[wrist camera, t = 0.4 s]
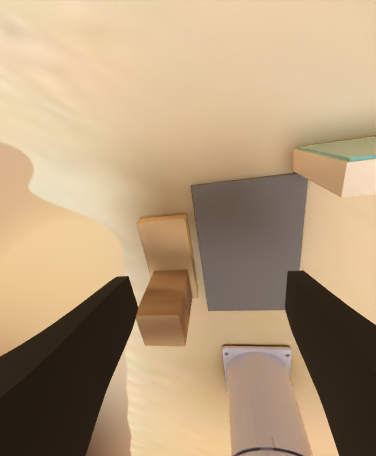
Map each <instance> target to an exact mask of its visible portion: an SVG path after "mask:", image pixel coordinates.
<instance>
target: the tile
mask: <svg viewBox="0 0 376 456" xmlns="http://www.w3.org/2000/svg"><path fill="white" fill-rule="evenodd" d="M292 171H294V172H296V173H297V174H299V175H301V176H303V177H305V178H307V179H308V180H310V181H312V182H314V183H316V184H318V185H319V186H321V187H323V188H325V189H327V190H329V191H330V192H332V193H334V194H336V195H338V196H340V197H351V196H361V195H372V194H376V136H371V137H364V138H357V139H350V140H342V141H335V142H328V143H321V144H313V145H306V146H299V147H298V148H297V149H294V153H293V169H292Z"/></svg>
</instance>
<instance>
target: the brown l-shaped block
mask: <svg viewBox="0 0 376 456" xmlns="http://www.w3.org/2000/svg"><path fill="white" fill-rule="evenodd" d="M137 226H138V230H139V234H140V238H141V241H142V245H143V249H144V253H145V256H146V260H147V264H148V268H149V272H150V275H151V279H150V282H149V284H148V286H147V289H146V291H145V293H144V296H143V298H142V300H141V303H140V305H139V307H138V311H137V315H136V320H137V323H138V326H139V329H140V332H141V335H142V338H143V341H144V344H145V345H146V346H186V338H187V331H188V324H189V317H190V309H191V302H192V298H197V297H198V287H197V280H196V274H195V267H194V261H193V254H192V248H191V241H190V235H189V228H188V221H187V215H186V214H183V215H171V216H160V217H148V218H140V219H139V221H138V222H137Z"/></svg>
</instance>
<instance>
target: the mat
mask: <svg viewBox="0 0 376 456" xmlns="http://www.w3.org/2000/svg"><path fill="white" fill-rule="evenodd" d="M307 182H308V179H307V178H305V177H303V176H301V175H299V174H297V173H292V174H284V175H275V176H267V177H258V178H250V179H241V180H233V181H224V182H216V183H207V184H199V185H191V191H192V198H193V205H194V212H195V219H196V226H197V234H198V241H199V248H200V255H201V262H202V269H203V276H204V283H205V290H206V297H207V304H208V311H243V310H285V298H286V284H287V271H299V268H300V257H301V247H302V236H303V225H304V214H305V204H306V193H307Z"/></svg>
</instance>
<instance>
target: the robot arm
mask: <svg viewBox="0 0 376 456" xmlns="http://www.w3.org/2000/svg"><path fill="white" fill-rule="evenodd" d="M285 310H286V314H287V317H288V321H289V324H290V327H291V330H292V333H293V336H294V338H295V340H296V343H297V345H298V347H299V350H300V352H301V355H302V357H303V359H304V362H305V364H306V366H307V369H308V371H309V373H310V376H311V378H312V380H313V383H314V385H315V387H316V390H317V392H318V395H319V397H320V400H321V403H322V405H323V408H324V411H325V414H326V417H327V420H328V423H329V426H330V429H331V432H332V435H333V438H334V441H335V444H336V447H337V450H338V453H339V456H376V325H375V324H373V323H372V322H370V321H369V320H368V319H366V318H365V317H363V316H362V315H360V314H359V313H358V312H356V311H355V310H353V309H352V308H351V307H349V306H348V305H347V304H345V303H344V302H343V301H341V300H340V299H339V298H337V297H336V296H335V295H334V294H332V293H331V292H330V291H328V290H327V289H326V288H325V287H323V286H322V285H321V284H320V283H318V282H317V281H316V280H315V279H313V278H312V277H311V276H310V275H308V274H307V273H306V272H304V271H287V284H286V298H285ZM137 311H138V306H137V302H136V299H135V296H134V293H133V289H132V286H131V283H130V280H129V276H123V277H116V278H114V279H113V280H111V281H110V282H108V283H107V284H106V285H104V286H103V287H102V288H101V289H100V290H98V291H97V292H95V293H94V294H93V295H91V296H90V297H89V298H88V299H86V300H85V301H84V302H82V303H81V304H80V305H78V306H77V307H76V308H74V309H73V310H72V311H70V312H69V313H67V314H66V315H65V316H63V317H62V318H61V319H59V320H58V321H56V322H55V323H54V324H52V325H51V326H49V327H48V328H46V329H45V330H43V331H42V332H40V333H39V334H37V335H36V336H34V337H32V338H31V339H29V340H28V341H26V342H25V343H23V344H21V345H20V346H18V347H16V348H15V349H13V350H11V351H9V352H8V353H6V354H4V355H2V356H0V456H86V453H87V449H88V446H89V442H90V440H91V436H92V433H93V430H94V427H95V423H96V420H97V417H98V414H99V411H100V408H101V405H102V402H103V399H104V396H105V393H106V390H107V388H108V385H109V383H110V380H111V378H112V376H113V373H114V371H115V368H116V366H117V364H118V361H119V359H120V357H121V355H122V352H123V350H124V348H125V345H126V343H127V341H128V338H129V336H130V334H131V331H132V329H133V325H134V322H135V319H136V315H137ZM222 354H223V362H224V371H225V379H226V388H227V392H228V393H229V412H230V433H231V454H232V456H313V454H312V451H311V447H310V444H309V441H308V437H307V434H306V431H305V427H304V424H303V421H302V417H301V414H300V411H299V407H298V404H297V401H296V397H295V394H294V390H293V387H292V384H291V380H290V370H291V359H292V350H291V348H289V347H263V346H223V347H222Z"/></svg>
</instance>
